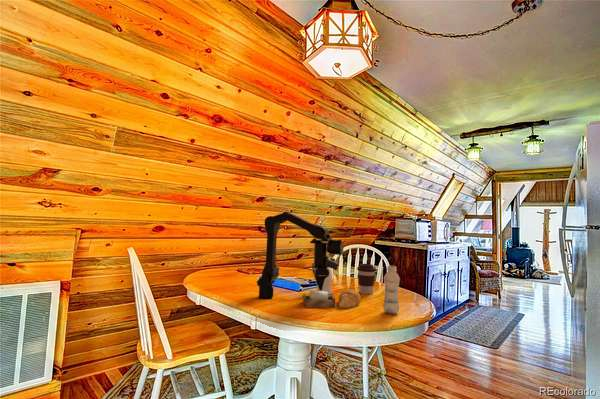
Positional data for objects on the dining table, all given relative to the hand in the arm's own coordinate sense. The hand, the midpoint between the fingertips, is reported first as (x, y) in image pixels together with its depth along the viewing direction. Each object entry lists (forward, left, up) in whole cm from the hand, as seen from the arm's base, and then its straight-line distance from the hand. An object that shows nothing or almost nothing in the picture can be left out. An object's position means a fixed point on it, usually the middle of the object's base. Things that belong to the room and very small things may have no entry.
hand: (319, 287), depth 148 cm
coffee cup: (+28, +24, -8) cm, 38 cm away
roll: (0, 0, -7) cm, 7 cm away
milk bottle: (+5, +21, -8) cm, 23 cm away
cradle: (0, 0, -8) cm, 8 cm away
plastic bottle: (+30, -11, -8) cm, 33 cm away
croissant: (+14, +3, -8) cm, 17 cm away
